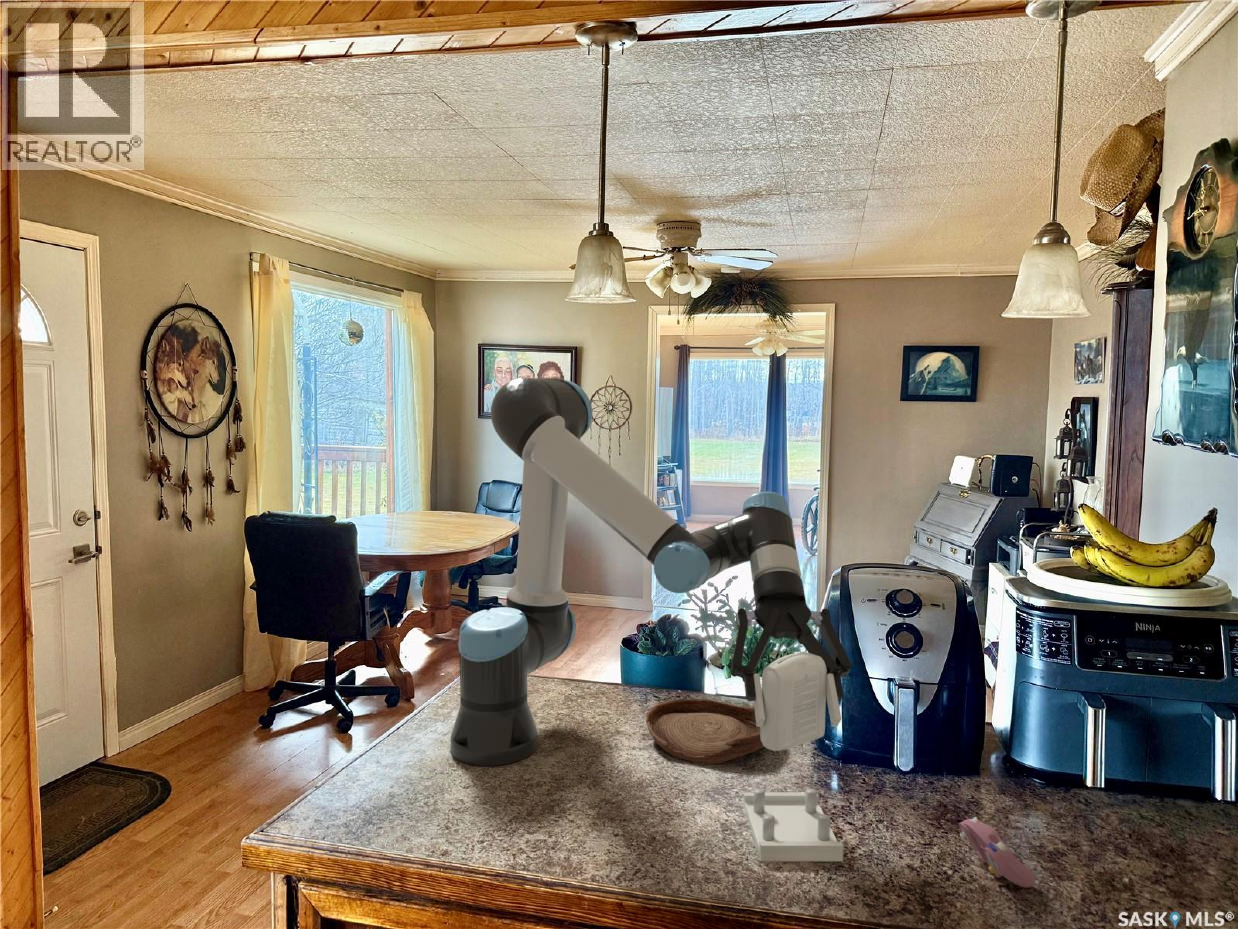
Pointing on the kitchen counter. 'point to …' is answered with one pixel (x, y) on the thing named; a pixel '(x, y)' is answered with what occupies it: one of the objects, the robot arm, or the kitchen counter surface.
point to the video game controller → (995, 852)
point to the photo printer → (793, 701)
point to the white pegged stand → (790, 827)
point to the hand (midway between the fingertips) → (798, 723)
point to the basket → (704, 730)
